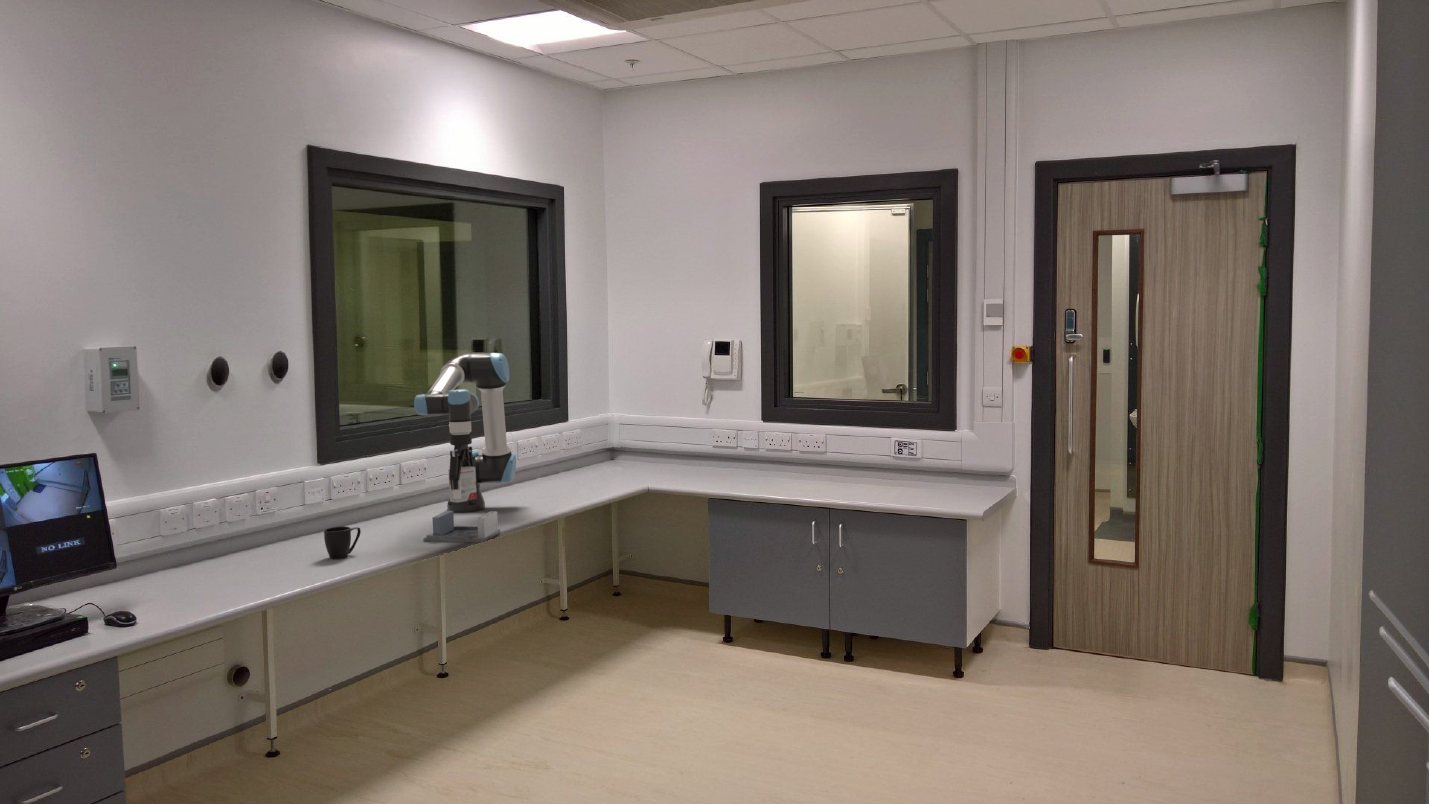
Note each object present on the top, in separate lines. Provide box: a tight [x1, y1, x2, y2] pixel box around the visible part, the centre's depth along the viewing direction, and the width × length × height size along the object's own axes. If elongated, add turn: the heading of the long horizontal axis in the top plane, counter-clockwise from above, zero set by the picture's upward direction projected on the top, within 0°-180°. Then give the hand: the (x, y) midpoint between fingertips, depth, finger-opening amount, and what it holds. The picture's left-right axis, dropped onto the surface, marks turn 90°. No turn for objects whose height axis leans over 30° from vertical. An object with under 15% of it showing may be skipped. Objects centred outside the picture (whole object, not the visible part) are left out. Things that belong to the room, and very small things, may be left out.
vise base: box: [422, 510, 501, 543], centre depth 358 cm, size 16×22×8 cm
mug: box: [323, 526, 361, 560], centre depth 332 cm, size 8×12×10 cm
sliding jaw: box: [431, 510, 455, 535], centre depth 359 cm, size 12×2×7 cm, turn 170°
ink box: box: [448, 466, 477, 503], centre depth 357 cm, size 9×5×12 cm, turn 141°
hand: (463, 495), depth 357 cm, fingers closed on ink box, 9 cm apart
